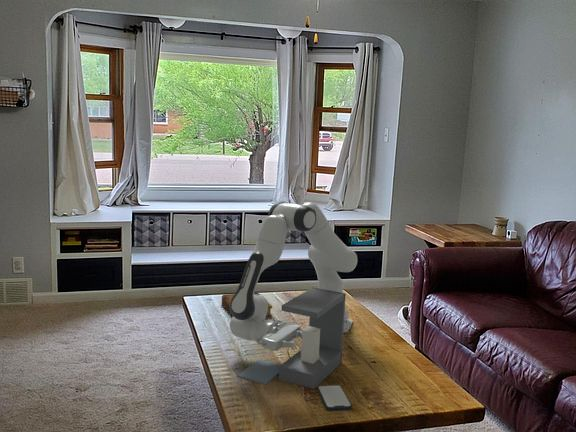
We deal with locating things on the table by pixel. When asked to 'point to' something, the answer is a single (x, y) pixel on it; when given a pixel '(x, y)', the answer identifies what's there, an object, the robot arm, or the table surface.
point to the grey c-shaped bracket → (330, 319)
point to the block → (310, 344)
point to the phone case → (334, 398)
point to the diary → (227, 299)
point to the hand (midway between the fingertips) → (300, 340)
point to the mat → (260, 371)
